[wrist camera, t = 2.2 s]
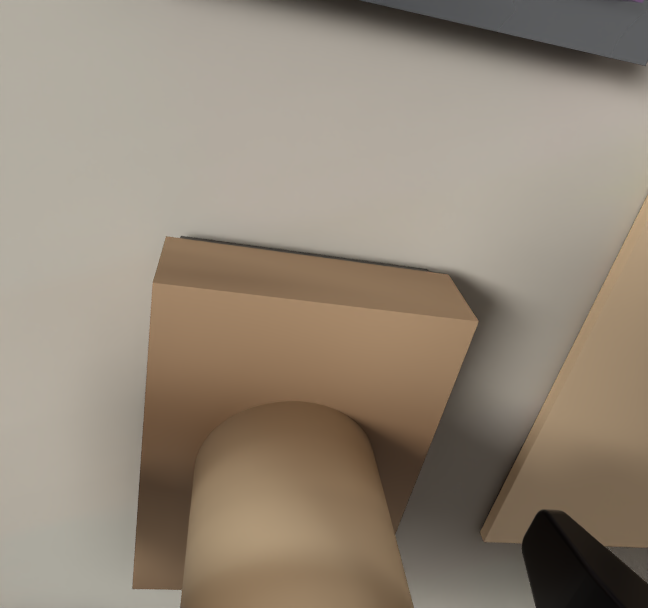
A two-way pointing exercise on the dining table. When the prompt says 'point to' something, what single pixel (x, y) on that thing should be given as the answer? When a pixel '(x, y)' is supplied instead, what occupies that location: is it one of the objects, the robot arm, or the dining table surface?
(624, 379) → the stamp board
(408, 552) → the dining table surface
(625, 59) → the ink pad
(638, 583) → the robot arm
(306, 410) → the stamp
